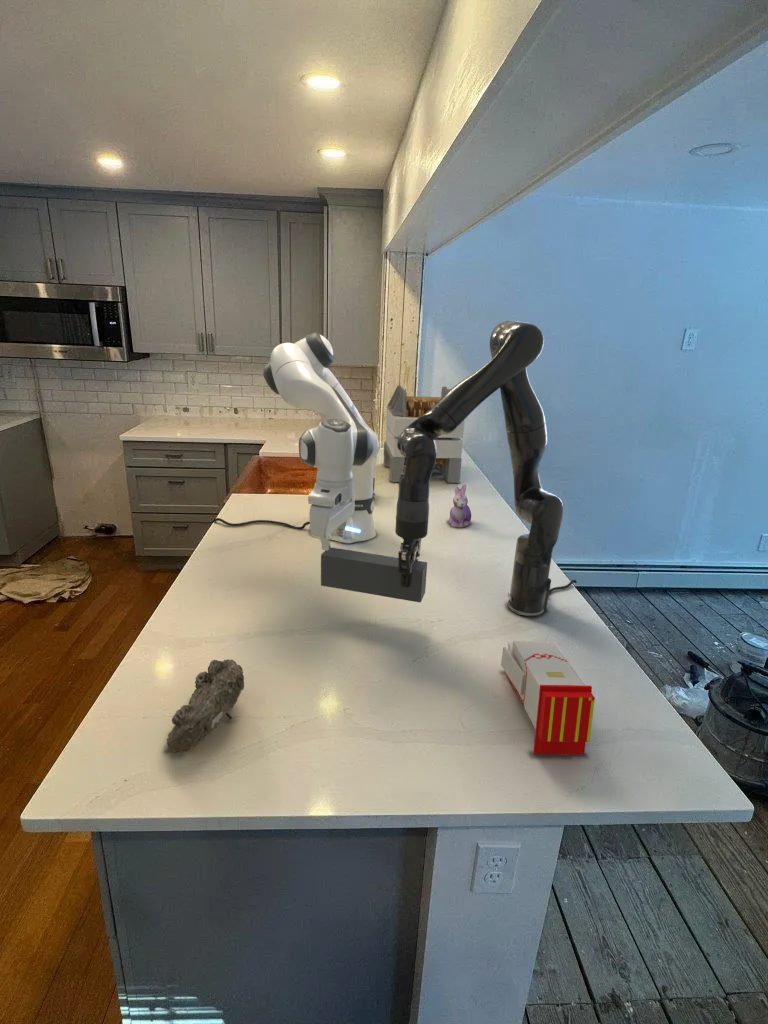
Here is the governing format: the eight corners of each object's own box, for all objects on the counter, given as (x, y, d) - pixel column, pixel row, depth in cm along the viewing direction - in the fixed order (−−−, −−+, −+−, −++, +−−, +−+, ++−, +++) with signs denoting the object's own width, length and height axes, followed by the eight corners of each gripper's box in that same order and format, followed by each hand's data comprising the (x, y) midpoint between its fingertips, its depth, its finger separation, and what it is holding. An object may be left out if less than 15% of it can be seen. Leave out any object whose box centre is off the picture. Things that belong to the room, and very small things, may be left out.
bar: (320, 585, 141) (320, 554, 138) (328, 576, 146) (328, 546, 143) (420, 602, 135) (422, 571, 132) (425, 592, 140) (427, 562, 137)
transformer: (382, 463, 289) (386, 382, 275) (445, 464, 293) (451, 384, 279) (390, 482, 257) (394, 392, 243) (460, 483, 261) (468, 394, 247)
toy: (549, 624, 127) (604, 693, 98) (544, 678, 130) (596, 762, 100) (496, 622, 127) (535, 692, 97) (491, 677, 129) (528, 761, 100)
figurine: (457, 529, 205) (460, 490, 200) (441, 520, 214) (444, 482, 209) (478, 526, 210) (482, 487, 205) (462, 517, 218) (465, 480, 213)
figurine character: (374, 507, 229) (374, 492, 242) (375, 490, 225) (375, 475, 239) (358, 507, 228) (358, 491, 242) (358, 490, 225) (359, 475, 238)
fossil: (192, 660, 117) (244, 628, 112) (224, 691, 120) (276, 661, 115) (142, 746, 98) (202, 712, 93) (182, 779, 101) (242, 748, 96)
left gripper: (338, 476, 145) (337, 526, 150) (304, 499, 127) (304, 555, 132) (361, 479, 144) (359, 530, 148) (330, 502, 125) (329, 560, 130)
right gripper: (421, 528, 124) (416, 597, 130) (434, 507, 137) (429, 571, 143) (388, 523, 126) (385, 591, 132) (404, 504, 139) (400, 566, 145)
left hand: (333, 542), depth 140 cm, fingers open, 8 cm apart
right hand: (408, 580), depth 137 cm, fingers closed on bar, 5 cm apart
